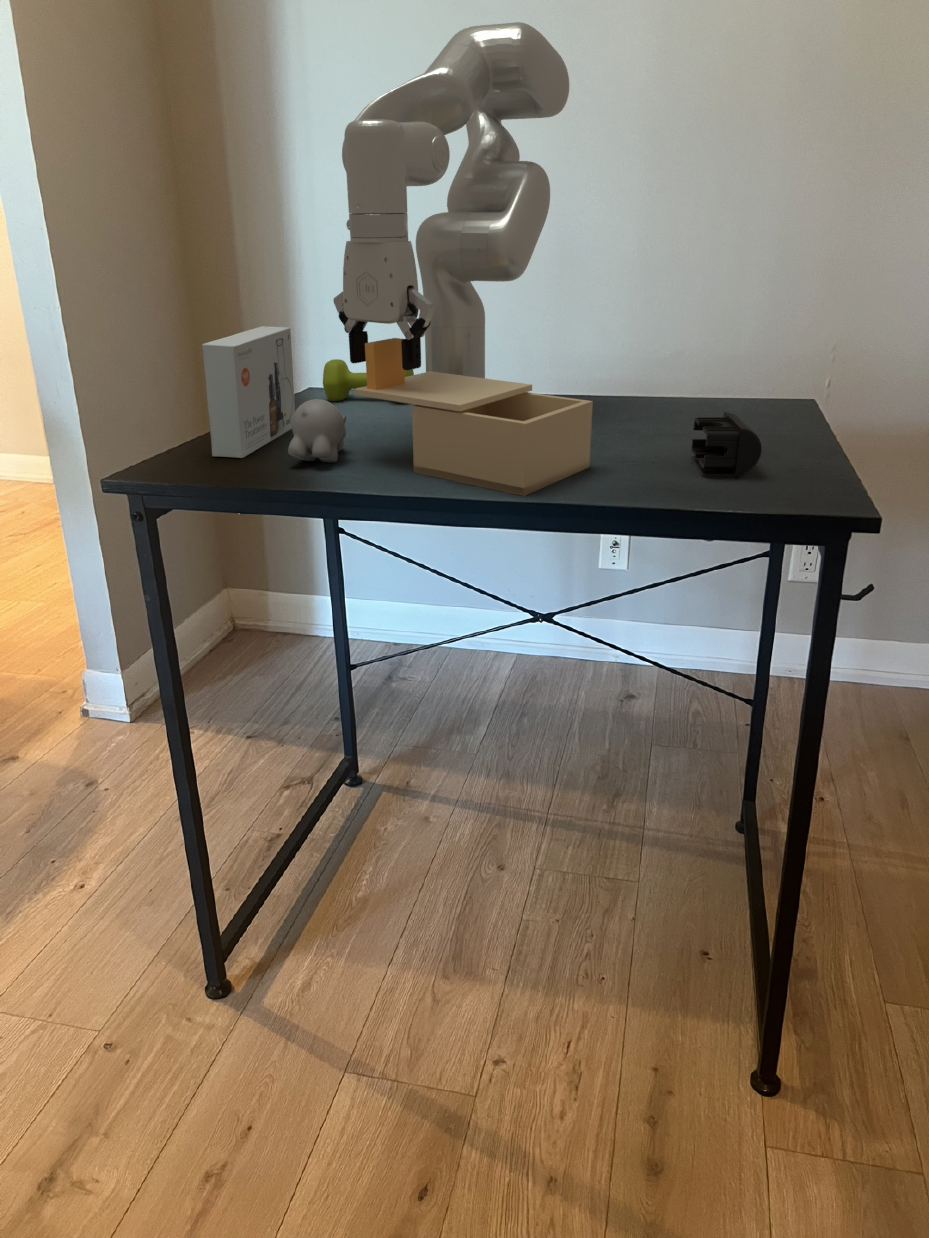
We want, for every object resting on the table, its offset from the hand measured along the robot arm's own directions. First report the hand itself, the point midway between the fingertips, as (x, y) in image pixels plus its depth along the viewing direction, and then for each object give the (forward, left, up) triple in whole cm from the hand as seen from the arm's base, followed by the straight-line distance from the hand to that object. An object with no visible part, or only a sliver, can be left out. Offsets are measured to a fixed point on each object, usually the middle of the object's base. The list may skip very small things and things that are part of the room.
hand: (385, 365), depth 122 cm
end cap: (-22, +41, -13) cm, 48 cm away
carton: (-4, +17, -13) cm, 22 cm away
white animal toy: (+6, -7, -13) cm, 16 cm away
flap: (-4, +7, -4) cm, 9 cm away
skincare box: (+4, -23, -13) cm, 27 cm away
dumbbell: (-28, -30, -13) cm, 43 cm away
